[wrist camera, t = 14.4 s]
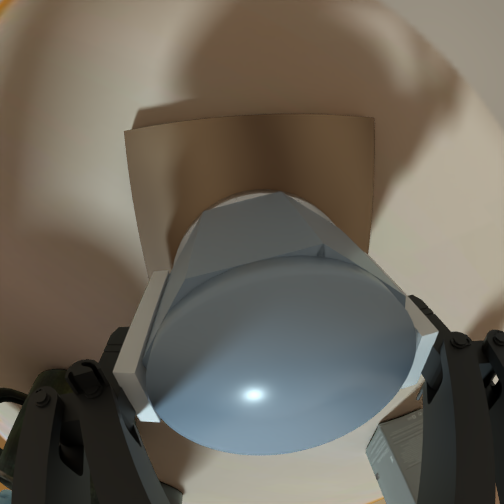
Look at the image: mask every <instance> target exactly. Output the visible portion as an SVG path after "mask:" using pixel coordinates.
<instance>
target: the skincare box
mask: <svg viewBox="0 0 504 504" xmlns="http://www.w3.org/2000/svg"><path fill="white" fill-rule="evenodd" d="M422 445H423V408H422V409H419V410H417V411H414V412H412V413H410V414H407V415H405V416H403V417H400V418H397V419H394V420H391V421H388V422H385V423H381V424H379V425H378V428H377V430H376V432H375V435H374V436H373V438H372V440H371V442H370V444H369V445H368V447H367V450H366V454H367V457H368V459H369V462H370V464H371V466H372V469H373V471H374V474H375V476H376V479H377V481H378V484H379V486H380V489H381V491H382V494H383V496H384V499H385V501H386V504H417V499H418V491H419V483H420V473H421V462H422Z"/></svg>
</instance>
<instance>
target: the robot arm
mask: <svg viewBox="0 0 504 504" xmlns="http://www.w3.org/2000/svg"><path fill="white" fill-rule="evenodd" d="M364 253H365V254H366V255H367V256H368V257H369V258H370V259H371V260H372V261H373V262H374V263H375V264H376V265H377V266H378V267H379V268H380V269H381V270H382V271H383V272H384V270H383V269H382V268H381V267H380V266H379V265H378V264H377V263H376V262H375V261H374V260H373V259H372V258H371V257H370V256H369V255H368V254H367V253H366V252H364ZM384 273H385V272H384ZM385 274H386V273H385ZM169 275H170V274H169V270H166V271H154V272H153V274H152V277H151V279H150V281H149V283H148V285H147V288H146V290H145V292H144V295H143V297H142V299H141V301H140V304H139V306H138V309H137V311H136V313H135V316H134V318H133V321H132V323H131V325H130V327H119V328H118V329H117V330H116V331H115V332H114V333H113V334H112V335H111V336H110V338H109V341H108V343H107V346H106V347H105V350H104V353H103V354H102V356H101V359H100V361H99V363H97V362H96V361H94V360H89V359H86V360H80V361H78V362H76V363H74V364H73V365H72V366H70V367H69V369H68V370H67V372H66V375H65V380H66V381H67V383H68V384H69V386H70V387H71V389H72V390H73V393H68V394H62V395H58V393H57V392H56V390H55V389H54V388H52V387H49V386H43V387H40V388H38V389H36V390H35V391H34V392H33V393H32V394H31V396H30V398H29V400H28V404H27V408H26V412H25V416H24V420H23V424H22V429H21V433H20V438H19V443H18V449H17V455H16V461H15V468H14V476H13V485H12V491H11V490H3V491H1V492H0V504H91V496H90V473H91V477H92V481H93V484H94V488H95V491H96V494H97V497H98V500H99V504H182V493H181V492H180V491H178V490H177V489H175V488H173V487H171V486H168V485H166V484H163V483H160V482H159V480H158V478H157V475H156V473H155V471H154V469H153V467H152V464H151V462H150V460H149V457H148V455H147V452H146V450H145V447H144V445H143V442H142V440H141V437H140V434H139V432H138V429H137V427H136V425H135V424H134V418H135V414H137V416H138V418H139V419H140V421H145V422H160V420H161V417H160V416H159V415H158V413H157V412H156V411H155V409H154V407H153V405H152V403H151V401H150V399H149V396H148V392H147V389H146V371H147V370H146V368H145V367H144V365H143V363H142V359H143V356H144V352H145V349H146V345H147V342H148V339H149V336H150V332H151V329H152V326H153V323H154V320H155V317H156V314H157V310H158V307H159V304H160V301H161V298H162V295H163V292H164V290H165V287H166V284H167V281H168V278H169ZM386 275H387V274H386ZM387 276H388V275H387ZM388 278H389V279H390V280H391V281H392V282H393V283H394V284H395V285H396V286H397V287H398V288H399V289H400V290H401V291H402V289H401V288H400V287H399V286H398V285H397V284H396V283H395V282H394V281H393V280H392V279H391V278H390V277H389V276H388ZM402 293H403V294H404V295H405V296H406V302H405V309H406V310H407V312H408V314H409V315H410V317H411V319H412V321H413V324H414V328H415V332H416V353H415V358H414V361H413V365H412V368H411V370H410V372H409V374H408V377H407V379H406V380H405V382H404V384H403V385H402V387H401V389H403V388H406V387H409V386H412V385H415V384H417V382H418V380H419V378H420V375H421V374H422V375H423V377H424V378H425V382H424V384H423V386H422V388H421V390H420V391H419V393H418V395H417V399H416V400H419V399H420V397H421V395H422V393H423V399H422V400H423V445H422V462H421V473H420V483H419V491H418V499H417V504H495V482H496V487H497V491H498V496H499V501H500V504H504V332H503V331H500V330H491V331H489V332H488V334H487V336H486V338H485V340H484V341H471V339H470V338H469V337H468V336H467V335H465V334H463V333H460V332H451V331H450V330H449V329H448V328H447V327H446V326H445V325H444V324H443V322H442V321H441V320H440V319H439V318H438V317H437V316H436V315H435V314H433V311H432V310H431V309H430V308H428V306H427V305H426V304H425V303H424V302H423V301H422V300H421V299H419V298H417V297H416V296H414V295H409V296H407V295H406V294H405V293H404V292H403V291H402ZM495 375H497V377H498V379H499V380H498V382H497V383H496V385H495V384H494V383H493V381H492V380H493V378H494V377H495Z"/></svg>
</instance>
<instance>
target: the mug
mask: <svg viewBox="0 0 504 504" xmlns="http://www.w3.org/2000/svg"><path fill="white" fill-rule="evenodd" d="M66 372H67V371H66V370H60V369H52V370H48V371H45V372H42V373H41V374H39V375H38V377H37V379H36V380H35V382H34V384H33V386H32V388H31V390H30V392H29V394H28V395H26V394H24V393H22V392H19V391H16V390H13V389H9V388H0V403H2V402H13V403H17V404H20V405H23V406H22V408H21V410H20V412H19V414H18V416H17V418H16V421H15V423H14V425H13V427H12V430H11V432H10V434H9V437H8V439H7V441H6V444H5V446H4V449H1V448H0V482H1V483H2V484H3V485H5V486H6V487H7V488H9V489H10V490H12V485H13V476H14V468H15V461H16V455H17V449H18V443H19V438H20V433H21V429H22V424H23V420H24V416H25V412H26V408H27V404H28V400H29V398H30V396H31V394H32V393H33V392H34V391H35V390H36V389H38V388H40V387H43V386H49V387H52V388H54V389H55V390H56V392H57V393H58V395H62V394H68V393H73V390H72V389H71V387H70V386H69V384H68V383H67V381H66V380H65V375H66ZM134 424H135V425H136V423H135V419H134ZM90 496H91V504H99V500H98V497H97V494H96V491H95V488H94V484H93V481H92V477H91V473H90Z"/></svg>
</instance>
